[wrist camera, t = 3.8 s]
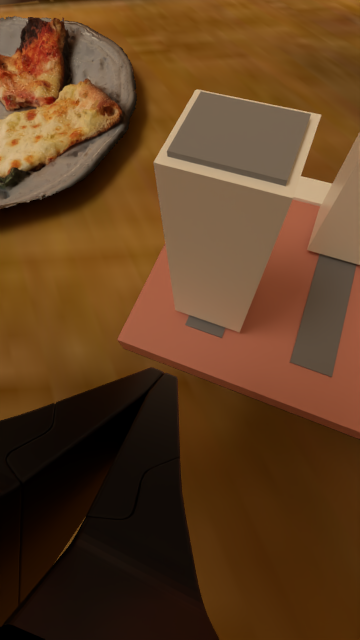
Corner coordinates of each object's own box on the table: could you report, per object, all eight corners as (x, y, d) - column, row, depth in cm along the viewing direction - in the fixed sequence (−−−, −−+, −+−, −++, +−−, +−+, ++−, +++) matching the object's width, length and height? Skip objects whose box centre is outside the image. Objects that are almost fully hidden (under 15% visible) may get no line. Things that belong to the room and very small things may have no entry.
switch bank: (500, 493, 14) (542, 500, 12) (123, 348, 17) (115, 337, 15) (503, 249, 18) (534, 229, 17) (208, 173, 22) (209, 151, 20)
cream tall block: (239, 332, 15) (295, 193, 7) (175, 310, 16) (153, 156, 7) (256, 283, 16) (323, 108, 8) (195, 263, 17) (196, 83, 8)
